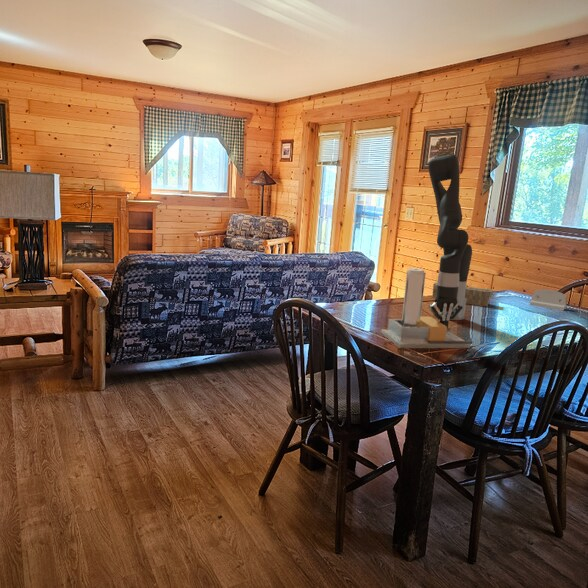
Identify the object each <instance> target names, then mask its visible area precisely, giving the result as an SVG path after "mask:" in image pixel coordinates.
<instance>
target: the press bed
mask: <svg viewBox="0 0 588 588" xmlns="http://www.w3.org/2000/svg"><path fill="white" fill-rule="evenodd" d="M401 323H402V318H389V319H388V324H387V325H388V326H387V329H385V328H384V329H382V328H381V329H380V334H381V333H382V334H383V335H382V334H381V335H382V336H383V337H385V338H386V337H387V338H388V339H389V340H388V339H387V338H386V339H387V340H388V341H390V342H391V341H392V342H393V343H394V346H396V347H397V346H398V347H399V349H470V348H471V344H473V340H464V339H463V338H461V337H460V336H457V335H456V334H454V333H452V332H451V328H450V327H448V328H447V331H446V339H445V341H428V335H429V327H404V326H402V325H401ZM392 342H391V343H392ZM393 343H392V344H393ZM398 347H397V348H398Z"/></svg>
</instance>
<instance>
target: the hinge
mask: <svg viewBox="0 0 588 588" xmlns="http://www.w3.org/2000/svg"><path fill="white" fill-rule="evenodd" d="M567 297H568V296H567V295H566V294H564V293H562V292H560V291H557V290H553V289H546V288H545V289H544V288H543V289H536V290H534V292H533V294H532V296H531V300H530V302H529V305H530V306H534V307H539V308H545V309H550V310H557V311H562V312H564V310H566V309H567V299H568V298H567ZM566 311H567V310H566Z"/></svg>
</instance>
